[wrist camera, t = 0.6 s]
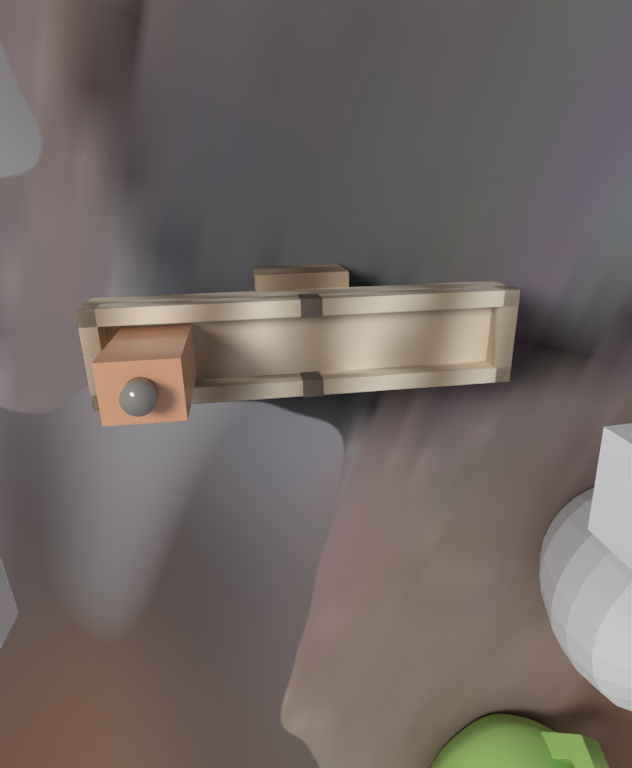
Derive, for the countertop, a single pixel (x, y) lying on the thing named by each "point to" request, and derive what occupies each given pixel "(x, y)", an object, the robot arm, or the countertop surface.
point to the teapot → (518, 746)
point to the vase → (589, 601)
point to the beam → (323, 334)
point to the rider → (146, 375)
